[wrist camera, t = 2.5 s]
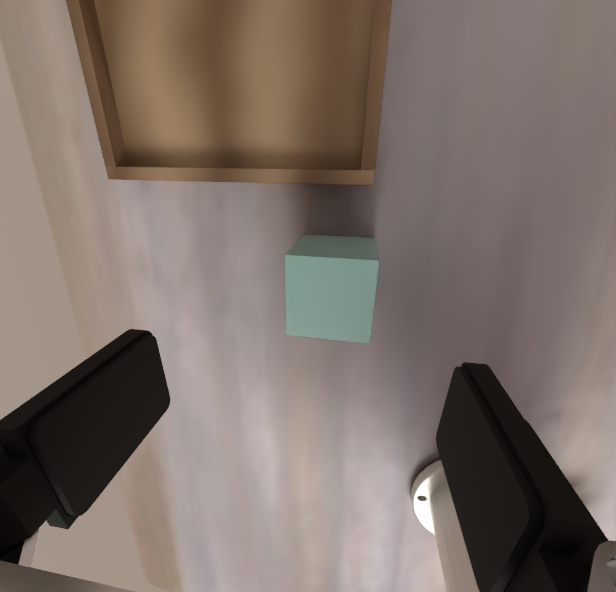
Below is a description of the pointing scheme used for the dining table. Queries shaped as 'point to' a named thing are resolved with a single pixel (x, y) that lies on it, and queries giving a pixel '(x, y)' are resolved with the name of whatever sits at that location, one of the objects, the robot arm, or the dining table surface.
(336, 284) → the teal block
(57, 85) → the dining table surface
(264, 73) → the walnut tray
